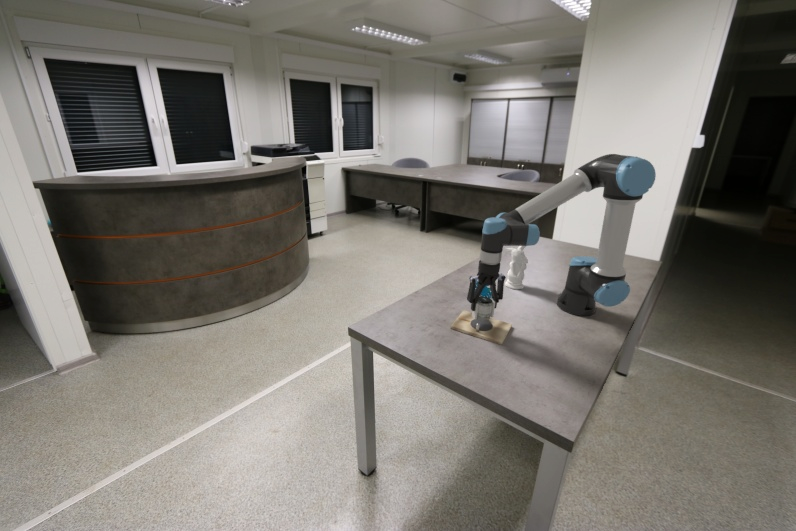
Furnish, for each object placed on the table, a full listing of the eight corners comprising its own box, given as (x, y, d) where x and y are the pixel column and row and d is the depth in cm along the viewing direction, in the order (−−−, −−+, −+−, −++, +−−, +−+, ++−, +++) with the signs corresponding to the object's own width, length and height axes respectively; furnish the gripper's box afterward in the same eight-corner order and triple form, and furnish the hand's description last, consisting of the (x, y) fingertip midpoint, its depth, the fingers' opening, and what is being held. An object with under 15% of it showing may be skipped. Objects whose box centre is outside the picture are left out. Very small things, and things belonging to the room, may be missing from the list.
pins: (487, 319, 140) (488, 312, 139) (478, 332, 131) (479, 325, 130) (484, 318, 141) (485, 311, 140) (475, 331, 132) (476, 324, 131)
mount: (511, 326, 137) (512, 323, 137) (501, 344, 126) (502, 341, 126) (463, 312, 147) (463, 310, 146) (450, 328, 136) (450, 325, 135)
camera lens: (481, 322, 131) (483, 304, 128) (470, 315, 136) (472, 297, 133) (494, 319, 133) (496, 300, 130) (483, 311, 139) (485, 293, 136)
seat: (495, 323, 137) (495, 322, 137) (488, 333, 131) (488, 332, 131) (474, 317, 141) (474, 316, 141) (467, 326, 135) (467, 326, 134)
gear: (479, 300, 154) (472, 279, 157) (471, 304, 158) (464, 284, 162) (497, 298, 159) (490, 278, 162) (489, 302, 164) (482, 282, 167)
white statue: (515, 292, 165) (522, 249, 157) (493, 283, 174) (498, 241, 165) (529, 284, 173) (536, 243, 164) (507, 276, 181) (512, 236, 172)
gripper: (508, 255, 131) (500, 309, 140) (460, 259, 127) (455, 314, 136) (519, 262, 124) (509, 318, 133) (469, 267, 120) (463, 324, 129)
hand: (482, 316), depth 134 cm, fingers closed on camera lens, 6 cm apart
